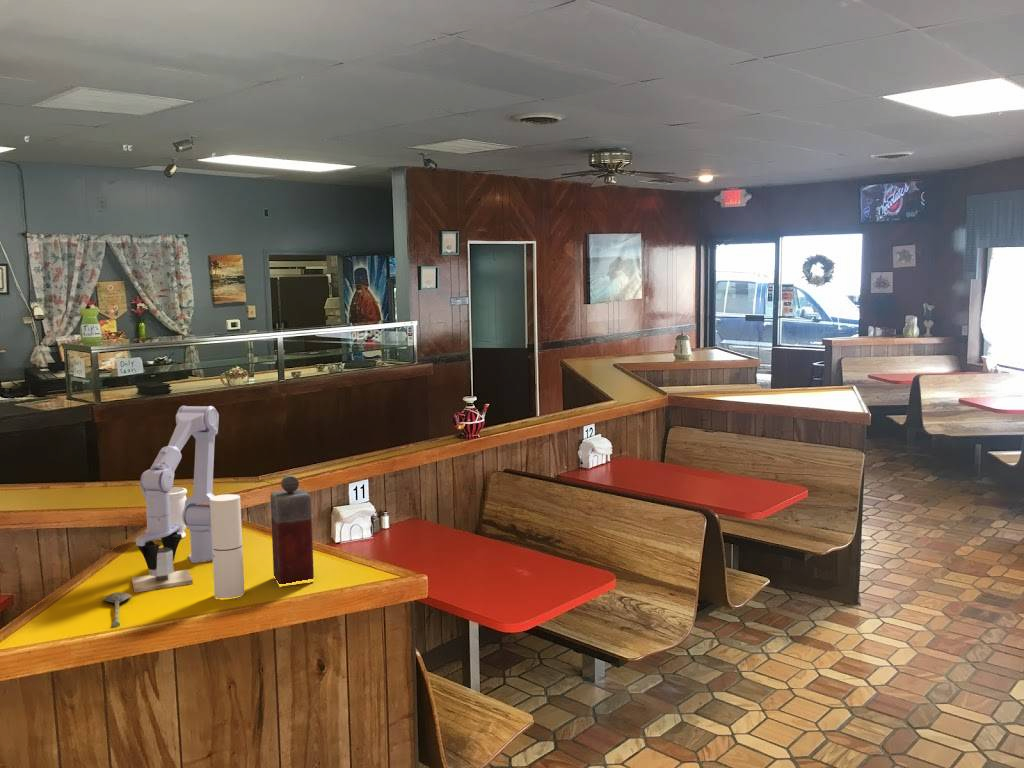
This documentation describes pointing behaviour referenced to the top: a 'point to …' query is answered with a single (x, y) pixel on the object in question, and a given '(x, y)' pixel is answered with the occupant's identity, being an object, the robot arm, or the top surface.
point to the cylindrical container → (227, 546)
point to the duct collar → (163, 562)
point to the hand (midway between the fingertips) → (161, 565)
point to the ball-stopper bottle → (291, 533)
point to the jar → (177, 507)
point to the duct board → (161, 581)
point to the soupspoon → (116, 604)
